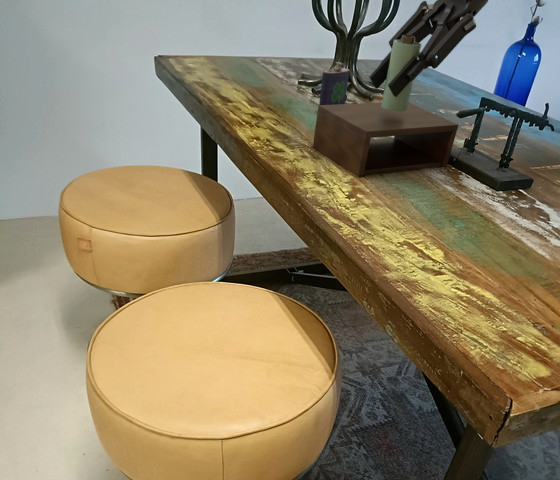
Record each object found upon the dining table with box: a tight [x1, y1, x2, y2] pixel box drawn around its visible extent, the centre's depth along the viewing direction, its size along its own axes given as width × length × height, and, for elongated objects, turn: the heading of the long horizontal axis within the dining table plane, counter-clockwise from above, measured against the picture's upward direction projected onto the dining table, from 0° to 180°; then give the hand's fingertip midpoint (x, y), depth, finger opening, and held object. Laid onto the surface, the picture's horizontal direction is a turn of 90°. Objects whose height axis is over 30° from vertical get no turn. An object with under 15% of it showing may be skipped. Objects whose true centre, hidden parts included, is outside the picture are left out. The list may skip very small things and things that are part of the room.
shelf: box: [312, 101, 459, 178], centre depth 111 cm, size 16×22×8 cm
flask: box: [318, 61, 351, 105], centre depth 133 cm, size 9×3×11 cm, turn 140°
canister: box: [381, 35, 422, 112], centre depth 105 cm, size 5×5×12 cm
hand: (382, 86), depth 104 cm, fingers closed on canister, 5 cm apart
